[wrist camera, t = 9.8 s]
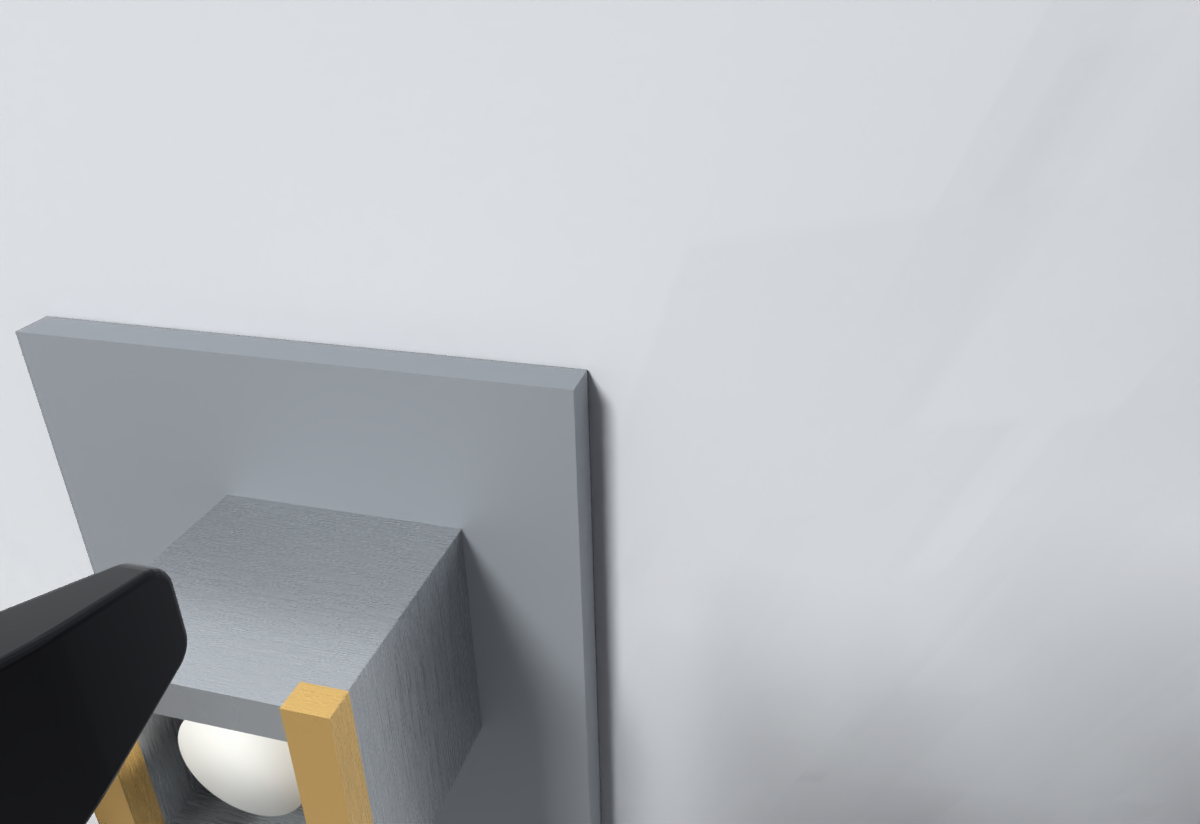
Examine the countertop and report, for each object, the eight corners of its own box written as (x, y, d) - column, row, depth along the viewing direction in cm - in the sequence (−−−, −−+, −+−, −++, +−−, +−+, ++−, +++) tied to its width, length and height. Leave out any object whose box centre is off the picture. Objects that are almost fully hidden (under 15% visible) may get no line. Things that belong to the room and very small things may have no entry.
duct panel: (586, 369, 21) (482, 524, 16) (603, 914, 29) (539, 1131, 24) (47, 316, 24) (-184, 428, 19) (200, 817, 32) (69, 988, 27)
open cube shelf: (484, 728, 25) (374, 944, 20) (270, 685, 27) (118, 875, 22) (462, 527, 22) (329, 718, 17) (224, 492, 24) (36, 658, 19)
